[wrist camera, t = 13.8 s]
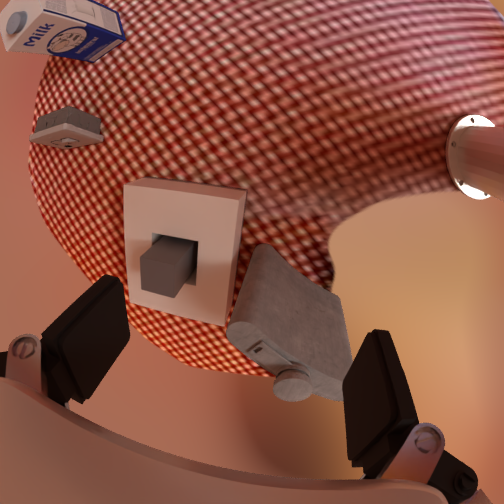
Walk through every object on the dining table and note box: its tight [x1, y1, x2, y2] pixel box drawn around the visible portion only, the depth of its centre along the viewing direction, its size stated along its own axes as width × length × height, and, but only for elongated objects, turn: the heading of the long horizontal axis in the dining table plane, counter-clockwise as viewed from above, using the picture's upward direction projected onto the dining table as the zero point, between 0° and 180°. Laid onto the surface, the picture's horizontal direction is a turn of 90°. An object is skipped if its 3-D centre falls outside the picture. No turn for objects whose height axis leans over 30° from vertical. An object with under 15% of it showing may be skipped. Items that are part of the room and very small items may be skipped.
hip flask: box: [226, 244, 353, 401], centre depth 31 cm, size 16×4×20 cm, turn 54°
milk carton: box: [0, 0, 126, 63], centre depth 19 cm, size 7×7×20 cm
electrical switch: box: [29, 106, 104, 149], centre depth 31 cm, size 9×5×9 cm, turn 89°
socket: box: [124, 177, 248, 327], centre depth 38 cm, size 15×18×6 cm
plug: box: [140, 235, 199, 298], centre depth 35 cm, size 4×4×10 cm
